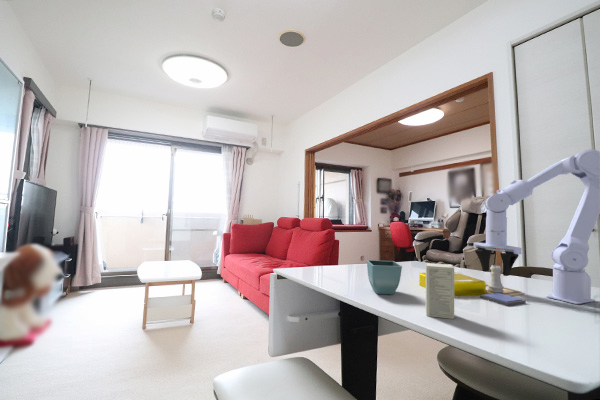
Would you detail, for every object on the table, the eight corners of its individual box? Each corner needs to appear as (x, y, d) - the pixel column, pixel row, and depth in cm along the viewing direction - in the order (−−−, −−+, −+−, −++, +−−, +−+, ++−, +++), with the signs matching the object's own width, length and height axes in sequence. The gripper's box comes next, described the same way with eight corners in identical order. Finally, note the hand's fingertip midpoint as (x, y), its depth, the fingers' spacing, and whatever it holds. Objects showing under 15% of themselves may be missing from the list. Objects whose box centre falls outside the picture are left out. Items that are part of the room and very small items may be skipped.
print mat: (490, 285, 107) (490, 283, 107) (524, 293, 97) (524, 291, 97) (468, 287, 103) (468, 286, 103) (501, 297, 93) (501, 295, 93)
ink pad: (497, 295, 94) (497, 292, 94) (525, 303, 87) (525, 299, 87) (479, 297, 91) (479, 294, 91) (507, 306, 84) (507, 302, 84)
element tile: (445, 298, 91) (446, 281, 92) (416, 285, 106) (416, 271, 106) (489, 296, 94) (489, 280, 95) (454, 284, 109) (455, 270, 109)
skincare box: (452, 314, 76) (452, 264, 76) (454, 320, 72) (455, 267, 72) (424, 310, 78) (425, 262, 78) (425, 316, 74) (426, 265, 74)
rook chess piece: (506, 293, 94) (507, 267, 94) (490, 292, 95) (491, 266, 95) (500, 290, 98) (500, 264, 99) (484, 289, 99) (485, 264, 99)
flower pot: (402, 297, 90) (402, 266, 90) (371, 296, 90) (372, 265, 90) (393, 289, 98) (393, 260, 99) (365, 288, 99) (366, 260, 99)
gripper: (467, 229, 105) (467, 269, 105) (511, 233, 92) (510, 279, 92) (481, 229, 108) (481, 268, 108) (526, 233, 95) (525, 277, 94)
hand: (495, 273), depth 100 cm, fingers open, 6 cm apart
